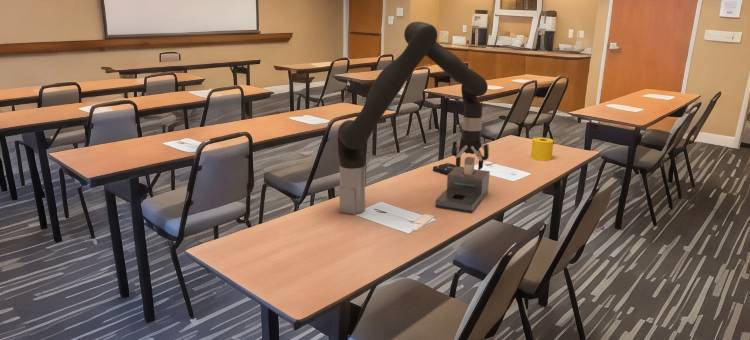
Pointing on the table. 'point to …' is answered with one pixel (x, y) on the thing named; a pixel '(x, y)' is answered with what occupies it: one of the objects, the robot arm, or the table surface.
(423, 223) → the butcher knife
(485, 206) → the table surface
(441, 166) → the disk drive
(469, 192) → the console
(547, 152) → the tape roll
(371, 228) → the table surface
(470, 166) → the plug
